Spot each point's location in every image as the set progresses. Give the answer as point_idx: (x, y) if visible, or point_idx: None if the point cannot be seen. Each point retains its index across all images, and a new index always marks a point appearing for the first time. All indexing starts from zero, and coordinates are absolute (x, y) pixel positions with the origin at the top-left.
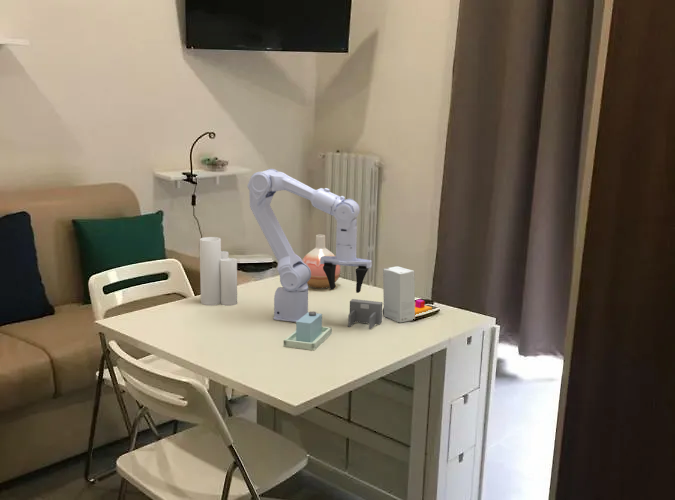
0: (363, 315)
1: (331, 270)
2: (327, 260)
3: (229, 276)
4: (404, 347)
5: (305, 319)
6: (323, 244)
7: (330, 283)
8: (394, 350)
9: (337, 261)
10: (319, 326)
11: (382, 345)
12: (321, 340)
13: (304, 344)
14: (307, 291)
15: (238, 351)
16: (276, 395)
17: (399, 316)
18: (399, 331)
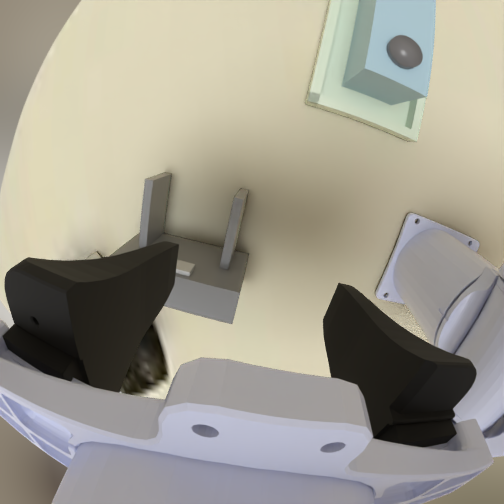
0: (190, 251)
1: (392, 371)
2: (453, 454)
3: None
4: (77, 46)
5: (413, 5)
6: None
7: (364, 301)
8: (102, 15)
9: (367, 457)
10: (355, 55)
11: (127, 34)
12: (328, 7)
13: None
14: (439, 312)
15: (494, 9)
16: None
17: (86, 259)
18: (86, 174)
